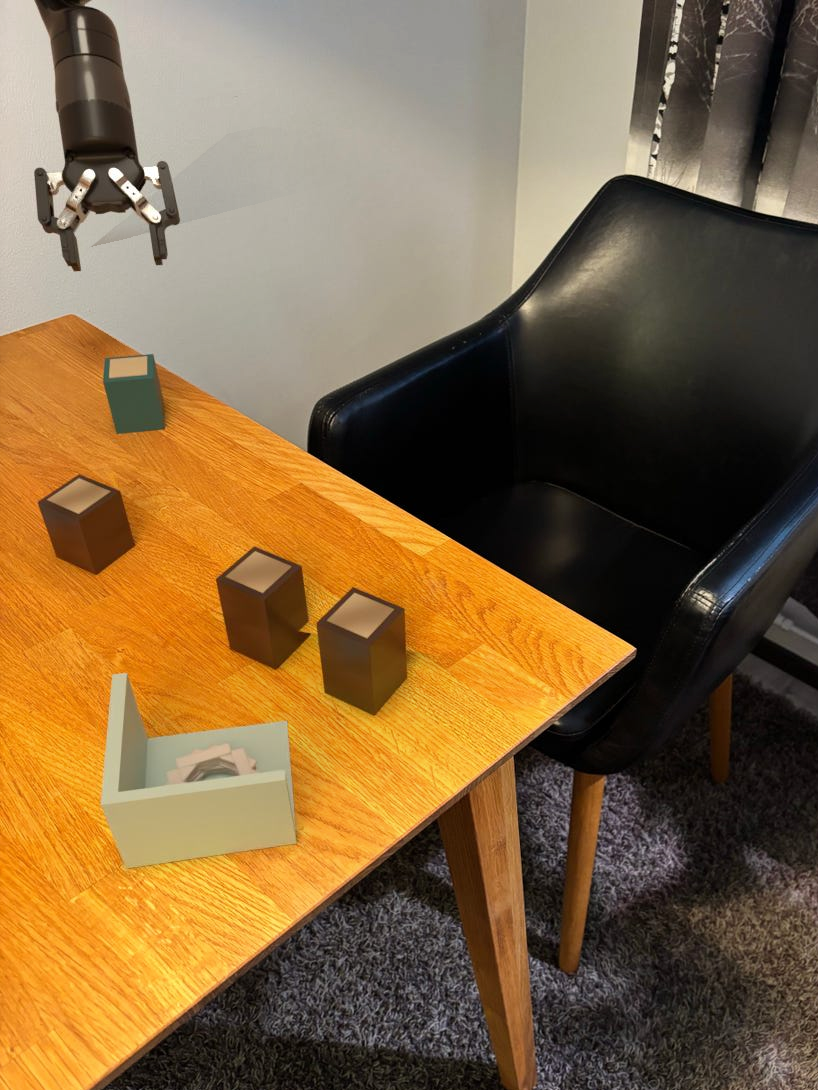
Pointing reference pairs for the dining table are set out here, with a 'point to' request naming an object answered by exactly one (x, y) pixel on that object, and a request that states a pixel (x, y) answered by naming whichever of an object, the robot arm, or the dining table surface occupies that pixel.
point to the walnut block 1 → (87, 523)
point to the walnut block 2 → (264, 606)
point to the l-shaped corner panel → (193, 787)
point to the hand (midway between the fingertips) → (117, 265)
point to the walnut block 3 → (363, 650)
